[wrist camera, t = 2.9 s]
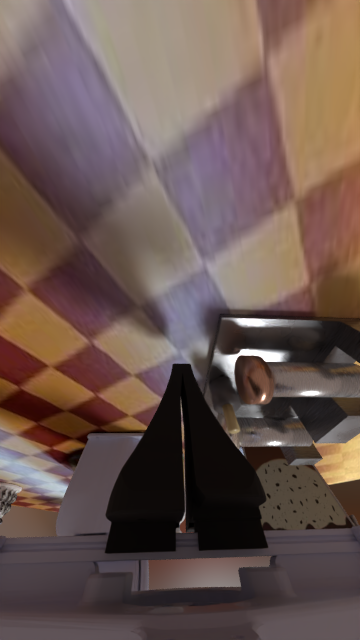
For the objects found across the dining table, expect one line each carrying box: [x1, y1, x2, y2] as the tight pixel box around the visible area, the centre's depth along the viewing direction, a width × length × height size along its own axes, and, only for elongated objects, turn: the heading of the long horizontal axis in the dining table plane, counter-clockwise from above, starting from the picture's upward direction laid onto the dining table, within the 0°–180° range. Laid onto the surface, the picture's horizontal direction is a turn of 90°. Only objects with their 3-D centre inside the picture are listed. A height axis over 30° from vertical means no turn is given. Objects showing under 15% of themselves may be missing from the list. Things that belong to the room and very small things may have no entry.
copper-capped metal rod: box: [234, 355, 360, 404], centre depth 12 cm, size 9×4×4 cm, turn 87°
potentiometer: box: [209, 377, 241, 434], centre depth 14 cm, size 3×3×4 cm
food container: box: [242, 446, 359, 531], centre depth 23 cm, size 12×6×10 cm, turn 99°
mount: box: [203, 314, 360, 465], centre depth 15 cm, size 13×17×5 cm
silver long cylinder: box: [217, 413, 313, 449], centre depth 16 cm, size 9×4×4 cm, turn 87°
